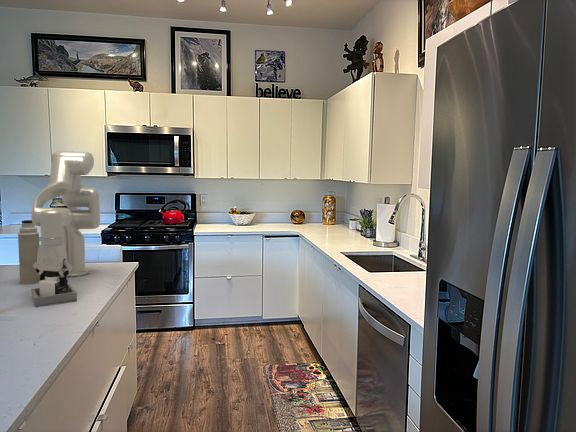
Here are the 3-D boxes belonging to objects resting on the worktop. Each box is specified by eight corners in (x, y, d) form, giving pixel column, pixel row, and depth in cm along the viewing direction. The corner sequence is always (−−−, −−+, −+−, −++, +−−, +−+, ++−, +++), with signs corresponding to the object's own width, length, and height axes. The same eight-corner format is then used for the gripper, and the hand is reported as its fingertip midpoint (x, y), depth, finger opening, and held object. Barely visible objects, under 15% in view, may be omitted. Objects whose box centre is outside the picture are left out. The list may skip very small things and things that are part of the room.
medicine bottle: (55, 300, 161) (54, 270, 160) (39, 298, 162) (38, 268, 161) (68, 295, 168) (67, 266, 167) (52, 293, 169) (52, 264, 168)
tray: (31, 297, 167) (31, 288, 166) (70, 292, 175) (70, 284, 175) (35, 307, 155) (35, 298, 155) (76, 301, 164) (76, 292, 163)
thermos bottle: (37, 278, 194) (35, 218, 191) (43, 282, 189) (41, 220, 186) (17, 281, 188) (15, 220, 185) (23, 285, 183) (20, 221, 180)
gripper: (24, 242, 160) (26, 286, 162) (66, 244, 158) (67, 289, 160) (39, 238, 168) (40, 281, 170) (78, 241, 165) (79, 284, 167)
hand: (53, 285), depth 165 cm, fingers open, 7 cm apart
